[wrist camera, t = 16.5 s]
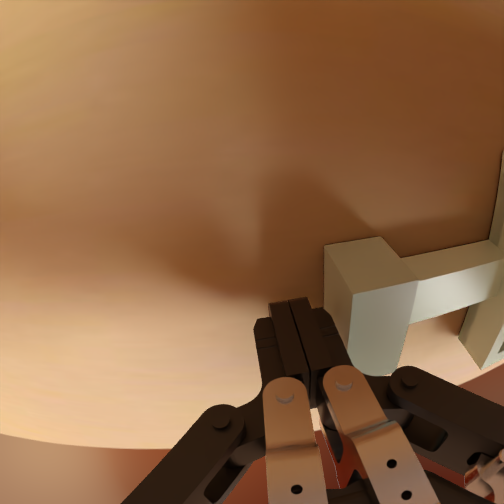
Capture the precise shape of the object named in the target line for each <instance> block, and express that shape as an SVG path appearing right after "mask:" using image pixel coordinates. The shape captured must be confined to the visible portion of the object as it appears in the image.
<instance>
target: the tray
mask: <svg viewBox="0 0 504 504" xmlns="http://www.w3.org/2000/svg"><path fill="white" fill-rule="evenodd" d="M467 306H469V309H468V312H467V315H466V318H465V320H464V323H463V326H462V329H461V331H460V334H459V336H458V339H459V340H460V341H461V343H462V344H463V345H464V347H465V348H466V350H467V351H468V353H469V354H470V355H471V357H472V358H473V360H474V361H475V363H476V364H477V365H478V367H479V368H480V370H482V369H484V368H486V367H488V366H490V365H492V364H494V363H496V362H498V361H500V360H502V359H504V151H503V155H502V164H501V173H500V180H499V187H498V194H497V200H496V206H495V211H494V217H493V222H492V226H491V231H490V236H489V240H484V241H480V242H476V243H471V244H466V245H462V246H457V247H453V248H448V249H443V250H438V251H434V252H429V253H424V254H419V255H414V256H409V257H404V258H400V257H399V256H398V255H397V254H396V253H395V252H394V250H393V249H392V248H391V247H390V246H389V245H388V244H387V243H386V242H385V241H384V239H383V238H382V237H381V236H378V237H372V238H366V239H360V240H354V241H348V242H342V243H336V244H330V245H324V310H326V311H327V312H328V313H329V314H330V315H331V316H332V318H333V321H334V323H335V326H336V327H337V330H338V332H339V335H340V336H341V339H342V341H343V343H344V346H345V348H346V350H347V353H348V355H349V357H350V359H351V362H352V364H353V365H354V367H355V368H357V369H358V370H360V371H361V372H362V373H364V374H366V375H370V376H383V375H387V374H390V373H393V372H394V371H395V370H396V368H397V365H398V362H399V358H400V355H401V352H402V348H403V345H404V341H405V337H406V333H407V330H408V326H409V324H413V323H416V322H420V321H423V320H426V319H430V318H433V317H436V316H439V315H442V314H446V313H449V312H452V311H455V310H458V309H461V308H464V307H467Z"/></svg>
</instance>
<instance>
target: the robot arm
mask: <svg viewBox="0 0 504 504" xmlns="http://www.w3.org/2000/svg"><path fill="white" fill-rule="evenodd" d="M268 307H269V316H270V317H266V318H260V319H257V321H256V324H255V326H254V329H253V330H254V336H255V342H256V349H257V355H258V361H259V367H260V373H261V378H262V388H261V391H260V393H259V394H258V396H257V397H256V398H255V399H253V400H252V401H251V402H249V403H247V404H244V405H242V406H240V407H238V408H235V407H234V406H231V405H227V404H220V405H215V406H212V407H210V408H208V409H207V410H206V411H205V412H204V413H203V414H202V415H201V416H200V417H199V419H198V420H197V421H196V422H195V423H194V424H193V425H192V427H191V428H190V429H189V430H188V431H187V432H186V434H185V435H184V436H183V437H182V438H181V439H180V440H179V441H178V443H177V444H176V445H175V446H174V447H173V448H172V449H171V451H170V452H169V453H168V454H167V455H166V456H165V457H164V458H163V459H162V461H161V462H160V463H159V464H158V465H157V466H156V467H155V468H154V469H153V470H152V471H151V473H150V474H149V475H148V476H147V477H146V478H145V479H144V480H143V481H142V482H141V483H140V484H139V485H138V486H137V487H136V488H135V489H134V491H132V493H131V494H130V495H129V496H128V497H127V498H126V499H125V500H124V501H123V502H122V503H121V504H222V503H223V501H224V500H225V499H226V498H227V496H228V495H229V494H230V492H231V491H232V490H233V489H234V487H235V486H236V485H237V483H238V482H239V481H240V479H241V478H242V477H243V475H244V474H245V473H246V471H247V470H248V468H249V467H250V466H251V464H252V463H253V461H255V460H257V459H259V458H261V457H263V456H266V468H267V469H266V470H267V485H268V500H269V504H504V407H503V406H501V405H499V404H497V403H494V402H492V401H490V400H487V399H485V398H483V397H481V396H478V395H476V394H474V393H472V392H469V391H467V390H465V389H463V388H460V387H458V386H456V385H454V384H452V383H449V382H447V381H445V380H443V379H441V378H439V377H436V376H434V375H432V374H430V373H428V372H426V371H423V370H421V369H419V368H417V367H413V366H403V367H400V368H398V369H396V370H395V371H394V372H393V373H392V375H391V376H370V375H366V374H364V373H362V372H361V371H360V370H358V369H357V368H355V367H354V365H353V364H352V362H351V359H350V357H349V355H348V353H347V350H346V348H345V346H344V343H343V341H342V339H341V336H340V335H339V332H338V330H337V327H336V326H335V323H334V321H333V318H332V316H331V315H330V314H329V313H328V312H327V311H326V310H324V309H323V308H322V307H321V308H316V309H312V308H311V306H310V303H309V301H308V298H307V297H303V298H298V299H292V300H288V302H287V301H281V302H275V303H269V304H268ZM312 408H318V412H319V415H320V420H319V424H320V428H321V430H322V433H323V436H324V438H325V441H326V443H327V446H328V448H329V451H330V454H331V457H332V459H333V462H334V464H335V468H336V475H337V480H338V484H339V486H340V489H326V487H325V481H324V475H323V469H322V463H321V457H320V452H319V447H318V445H317V444H316V441H315V436H314V430H313V424H312V418H311V412H310V409H312ZM414 452H416V453H418V454H420V455H422V456H424V457H426V458H428V459H430V460H432V461H434V462H436V463H438V464H440V465H442V466H444V467H447V468H449V469H451V470H453V471H455V472H457V473H460V474H462V475H464V476H465V477H464V480H465V488H466V489H467V490H466V489H464V488H462V487H460V486H458V485H456V484H454V483H452V482H450V481H448V480H446V479H444V478H442V477H440V476H438V475H436V474H434V473H432V472H429V471H427V470H423V468H422V466H421V464H420V462H419V461H418V459H417V457H416V455H415V453H414ZM470 491H471V492H470Z"/></svg>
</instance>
